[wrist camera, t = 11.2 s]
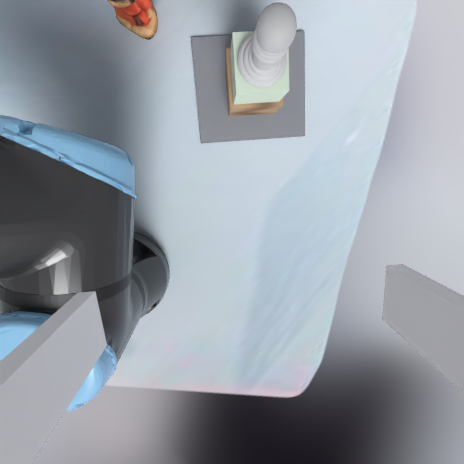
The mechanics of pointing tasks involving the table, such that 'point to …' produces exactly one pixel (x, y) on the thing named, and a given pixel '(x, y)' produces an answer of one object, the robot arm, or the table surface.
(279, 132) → the mat
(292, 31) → the chess piece
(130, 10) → the figurine
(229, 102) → the block bottom
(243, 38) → the block top
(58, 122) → the table surface
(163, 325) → the table surface
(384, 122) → the table surface
